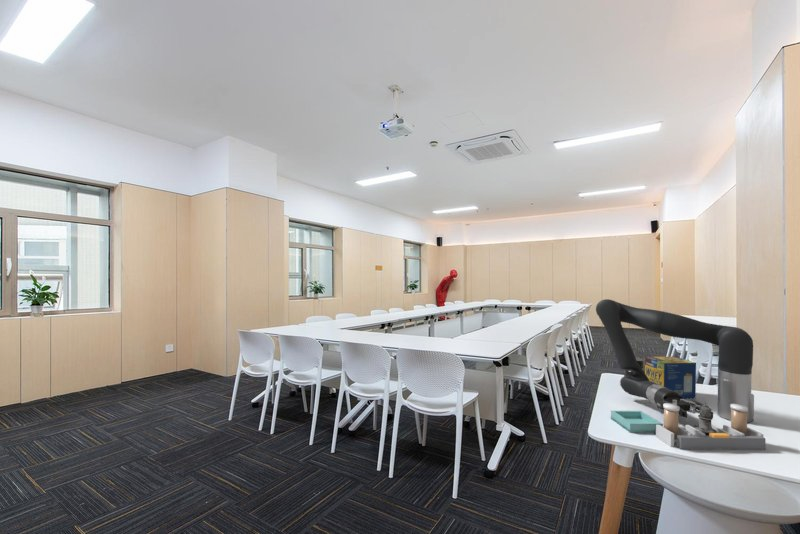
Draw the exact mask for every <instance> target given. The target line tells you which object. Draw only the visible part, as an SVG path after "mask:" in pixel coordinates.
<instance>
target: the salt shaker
mask: <svg viewBox="0 0 800 534" xmlns="http://www.w3.org/2000/svg"><path fill="white" fill-rule="evenodd" d="M703 404H704V405H702V406H700V414H698V415H697V417H698V424H695V425H693V426H692V427H693V428H695V429H697V430H699V431H701V432H703V433H704V434H705V436H709V433H717V431H716V430H715V429H713V428H712V426H711V425H712V420H713V419H714V417H713V418H711V411H712V409H711V407H710V406H708V405H707V403H706V402H704V403H703Z"/></svg>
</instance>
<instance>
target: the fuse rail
mask: <svg viewBox="0 0 800 534" xmlns="http://www.w3.org/2000/svg"><path fill="white" fill-rule="evenodd" d="M711 426H712V428H713V429H715V430H716V431H717V433H709V436H705V434H704V433H703V432H701V431H699V430H697V429H695V428H694V427H693V426H691V425H690V424H685V428H683V427H682V426H678V435H677V443H676V447H677V448H678V447H679V448H678V449H680V450H731V449H740V450H742V451H745V450H746V451H747V450H749V451H750V450H751V451H754V450H757V451H759V450H761V451H765V450H766V438H765V437H764V434H763V433H762V432H759V431H756V430H755V429H752V428H751V427H748V426H747V436H745V434H743V433H741V432H739V431H737V430H735V429H733V428H731V426H729V425H726V424H723V425H722V428H721V427H719V426H717V425H714V424H711ZM654 434H655V437H656V438H657V439H658V440H660V441H662V442H663V443H665V444H667V445H668V446H669V447H670V448H672V447H675V443H674V433H672V432H671V431H669V430H667V429H666V428H664V426H663V427H662V426H661V425H656V430H655V433H654Z"/></svg>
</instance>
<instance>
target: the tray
mask: <svg viewBox="0 0 800 534" xmlns="http://www.w3.org/2000/svg"><path fill="white" fill-rule="evenodd" d="M610 419H611V420H612V421H613V422H614V423H616V424H618V425H619V426H620V427H622V429H624V430H626V431H627V432H629V433H634V434H635V433H636V434H637V433H640V434H641V433H642V434H643V433H645V434H646V433H650V434H656V433H655V430H656V425H661V426H662V427H664V423H662V422H660V421H659V420H658V419H656V418H653V417H652V416H650V415H649V414H647V413H645V412H643V411H642V410H610Z"/></svg>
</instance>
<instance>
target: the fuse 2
mask: <svg viewBox="0 0 800 534" xmlns="http://www.w3.org/2000/svg"><path fill="white" fill-rule="evenodd" d="M730 408H731V420H730V427H731V428H733V429H735V430H737V431H739V432H741V433H743V434H745V436H747V427H748V422H747V412H748V407H746V406H743V405H739V404H730Z"/></svg>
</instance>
